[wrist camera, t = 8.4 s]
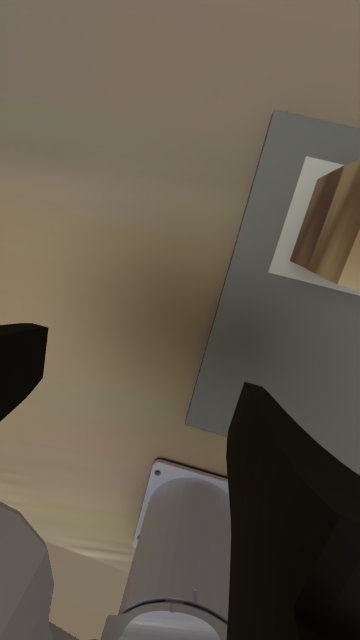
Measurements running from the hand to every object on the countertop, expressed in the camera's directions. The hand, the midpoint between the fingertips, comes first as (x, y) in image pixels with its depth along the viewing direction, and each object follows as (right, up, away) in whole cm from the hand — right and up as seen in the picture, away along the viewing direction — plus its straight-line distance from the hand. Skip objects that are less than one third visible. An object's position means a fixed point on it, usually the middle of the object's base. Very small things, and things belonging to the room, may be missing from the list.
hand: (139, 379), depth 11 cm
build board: (+11, +2, +9) cm, 15 cm away
